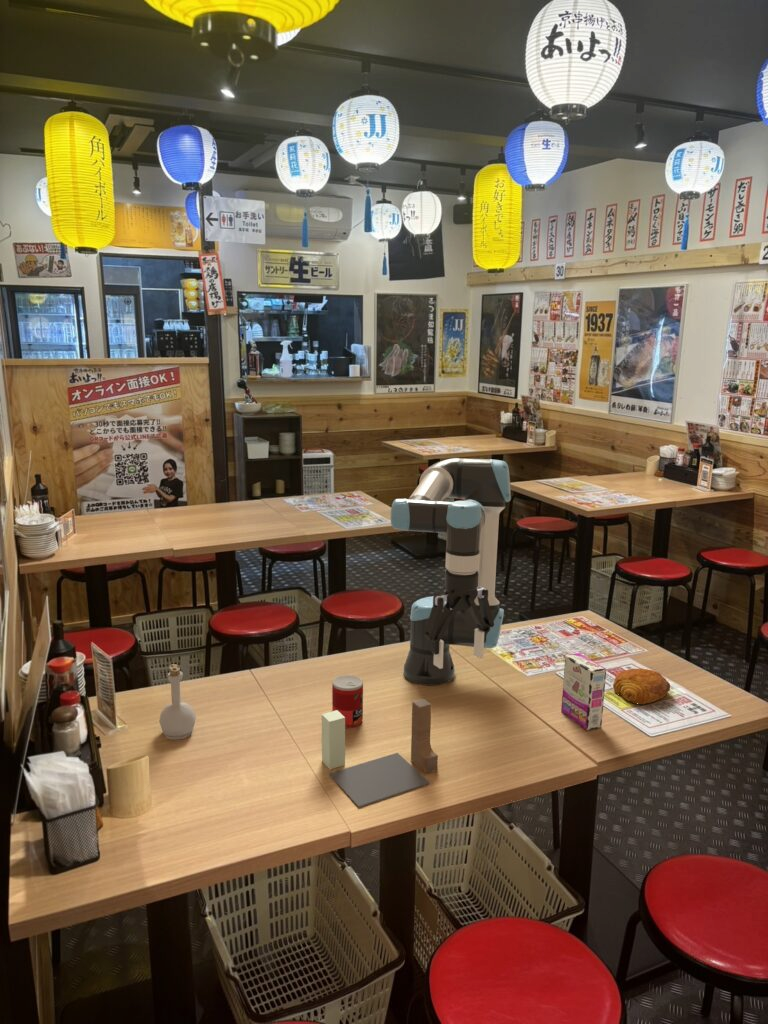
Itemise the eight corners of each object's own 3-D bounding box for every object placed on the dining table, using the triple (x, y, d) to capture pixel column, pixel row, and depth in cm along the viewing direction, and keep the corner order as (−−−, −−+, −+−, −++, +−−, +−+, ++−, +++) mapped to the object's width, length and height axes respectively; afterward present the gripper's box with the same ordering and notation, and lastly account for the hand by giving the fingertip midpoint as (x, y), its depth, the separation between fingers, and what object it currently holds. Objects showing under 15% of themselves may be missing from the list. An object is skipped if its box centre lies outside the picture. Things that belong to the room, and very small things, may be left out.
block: (337, 756, 173) (337, 710, 171) (345, 764, 170) (345, 717, 167) (322, 761, 171) (321, 714, 169) (329, 769, 168) (329, 721, 165)
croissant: (676, 704, 206) (682, 677, 205) (642, 711, 197) (648, 683, 196) (633, 683, 218) (639, 658, 217) (600, 689, 209) (605, 663, 208)
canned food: (359, 729, 186) (359, 689, 183) (328, 726, 187) (328, 686, 185) (365, 715, 193) (366, 676, 190) (336, 712, 194) (336, 673, 192)
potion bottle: (184, 720, 189) (181, 655, 185) (202, 733, 183) (199, 666, 179) (153, 732, 183) (148, 665, 179) (170, 746, 177) (166, 677, 173)
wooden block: (410, 760, 172) (411, 701, 169) (422, 756, 174) (423, 698, 171) (425, 773, 167) (427, 713, 163) (437, 770, 168) (439, 710, 165)
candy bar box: (602, 727, 188) (607, 668, 185) (587, 731, 186) (591, 671, 183) (575, 708, 198) (579, 651, 195) (560, 711, 196) (564, 654, 193)
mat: (397, 754, 175) (397, 752, 175) (429, 783, 163) (429, 782, 163) (329, 774, 166) (329, 773, 166) (358, 807, 154) (358, 806, 154)
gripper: (492, 559, 174) (488, 646, 178) (409, 572, 162) (407, 665, 167) (512, 567, 167) (508, 657, 172) (428, 582, 156) (425, 678, 161)
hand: (458, 661), depth 169 cm, fingers open, 11 cm apart
